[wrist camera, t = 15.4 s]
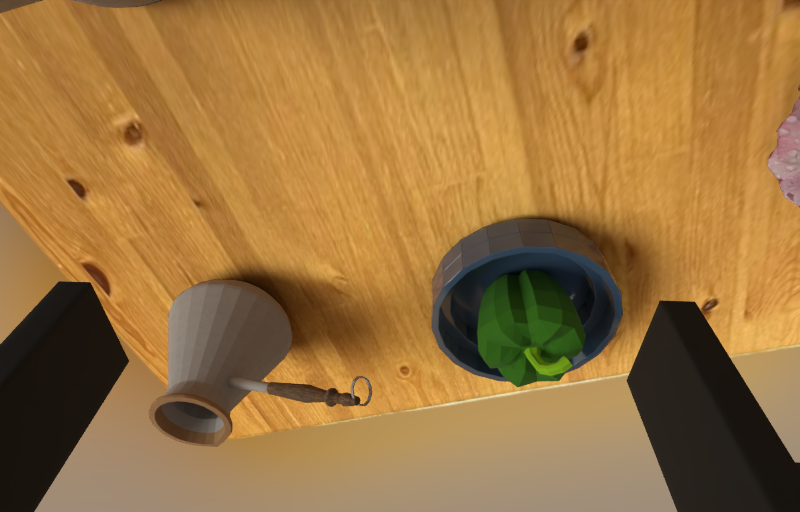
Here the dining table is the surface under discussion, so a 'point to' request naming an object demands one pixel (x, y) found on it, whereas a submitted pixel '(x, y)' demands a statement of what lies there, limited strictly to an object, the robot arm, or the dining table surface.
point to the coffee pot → (226, 360)
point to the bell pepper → (528, 328)
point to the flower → (788, 156)
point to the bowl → (512, 253)
